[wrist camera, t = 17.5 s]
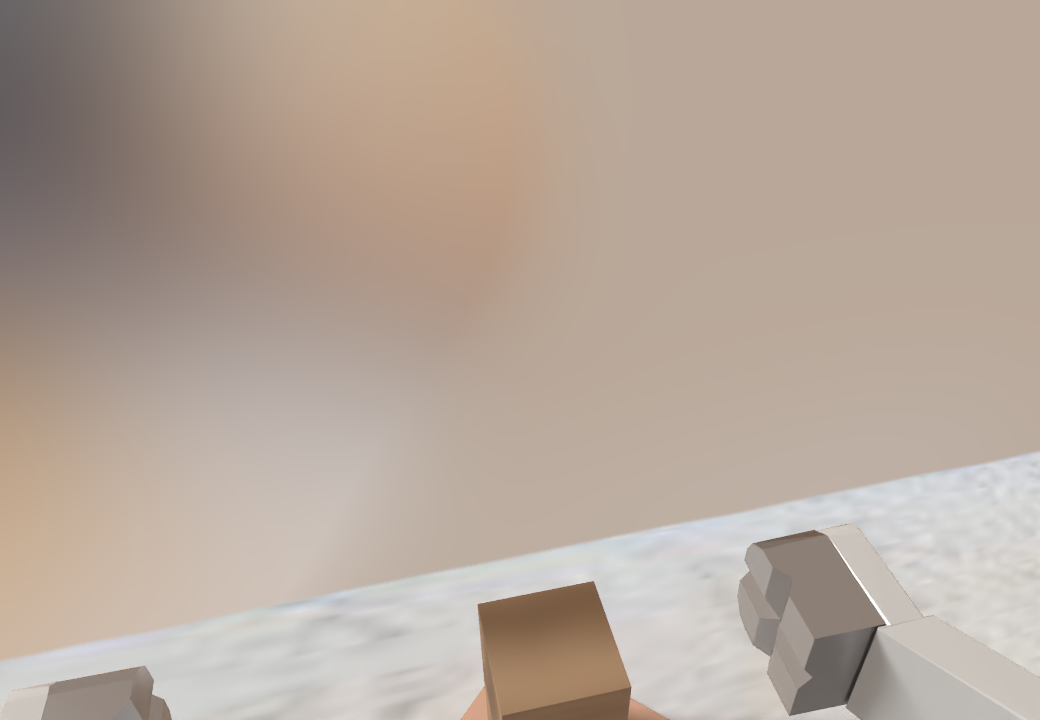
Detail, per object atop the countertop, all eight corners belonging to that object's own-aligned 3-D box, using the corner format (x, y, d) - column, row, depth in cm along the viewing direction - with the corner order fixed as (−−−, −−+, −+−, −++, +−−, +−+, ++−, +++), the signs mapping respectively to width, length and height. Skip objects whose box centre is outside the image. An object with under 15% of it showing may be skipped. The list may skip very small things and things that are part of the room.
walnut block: (617, 808, 38) (631, 687, 31) (509, 835, 37) (501, 715, 31) (587, 706, 41) (593, 580, 35) (488, 728, 41) (477, 604, 34)
